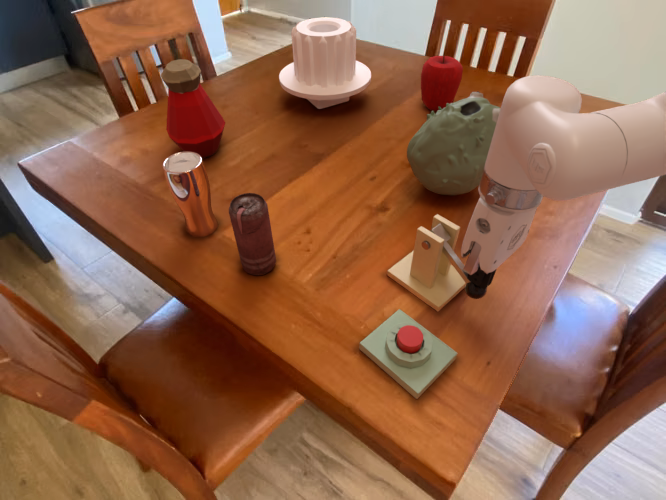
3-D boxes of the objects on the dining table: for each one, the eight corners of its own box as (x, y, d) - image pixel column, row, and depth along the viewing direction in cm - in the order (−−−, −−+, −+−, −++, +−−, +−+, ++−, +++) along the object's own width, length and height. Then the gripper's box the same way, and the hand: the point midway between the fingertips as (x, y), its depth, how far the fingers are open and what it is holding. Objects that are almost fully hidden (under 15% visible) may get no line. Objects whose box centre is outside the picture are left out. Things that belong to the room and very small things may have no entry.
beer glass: (199, 211, 88) (179, 147, 77) (227, 221, 86) (211, 156, 75) (176, 232, 83) (152, 167, 73) (205, 243, 81) (184, 177, 71)
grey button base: (455, 359, 63) (460, 346, 61) (416, 399, 59) (419, 387, 56) (398, 315, 69) (400, 301, 66) (359, 349, 65) (359, 335, 62)
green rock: (390, 178, 95) (398, 90, 80) (464, 159, 99) (484, 73, 85) (426, 222, 84) (443, 130, 70) (506, 199, 89) (537, 108, 75)
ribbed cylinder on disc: (306, 129, 110) (301, 53, 97) (267, 91, 126) (258, 21, 112) (387, 105, 118) (393, 31, 105) (341, 72, 134) (341, 5, 120)
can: (237, 275, 75) (221, 214, 65) (248, 250, 80) (234, 189, 70) (270, 279, 75) (259, 218, 65) (280, 253, 79) (271, 192, 69)
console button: (426, 342, 62) (428, 336, 60) (410, 358, 60) (412, 351, 59) (407, 327, 64) (408, 320, 62) (391, 342, 62) (392, 335, 61)
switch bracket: (470, 282, 73) (486, 231, 65) (437, 312, 69) (451, 261, 61) (419, 249, 79) (428, 198, 71) (386, 275, 75) (392, 224, 67)
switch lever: (481, 293, 69) (495, 289, 66) (469, 305, 67) (483, 300, 64) (432, 228, 69) (443, 220, 66) (419, 237, 68) (431, 230, 65)
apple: (461, 114, 114) (472, 62, 105) (423, 117, 113) (431, 65, 104) (448, 96, 122) (457, 46, 112) (412, 99, 121) (419, 48, 111)
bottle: (231, 162, 100) (213, 77, 86) (171, 170, 98) (142, 84, 84) (228, 128, 111) (212, 48, 97) (175, 134, 109) (150, 53, 95)
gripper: (507, 228, 47) (471, 325, 60) (571, 171, 54) (526, 269, 67) (450, 197, 51) (428, 294, 64) (517, 148, 58) (484, 245, 71)
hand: (478, 281), depth 65 cm, fingers closed
